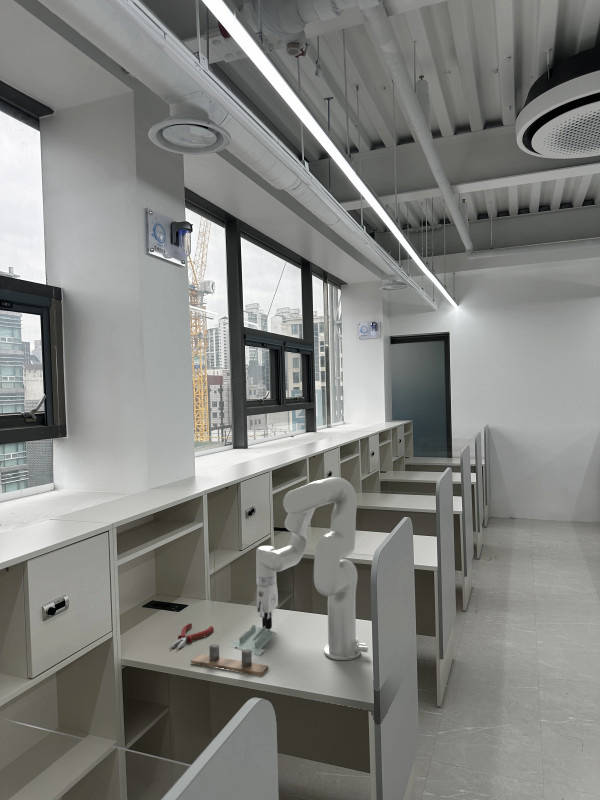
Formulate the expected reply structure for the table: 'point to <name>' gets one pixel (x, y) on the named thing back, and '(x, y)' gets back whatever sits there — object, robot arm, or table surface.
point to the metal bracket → (254, 639)
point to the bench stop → (231, 662)
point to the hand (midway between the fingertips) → (267, 628)
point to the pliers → (190, 636)
